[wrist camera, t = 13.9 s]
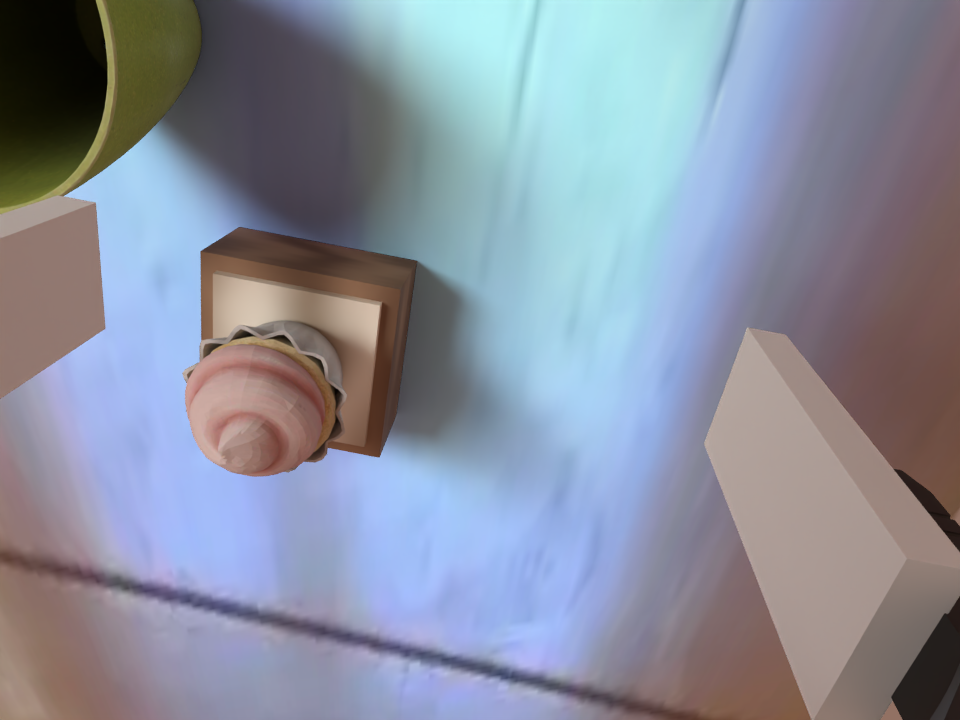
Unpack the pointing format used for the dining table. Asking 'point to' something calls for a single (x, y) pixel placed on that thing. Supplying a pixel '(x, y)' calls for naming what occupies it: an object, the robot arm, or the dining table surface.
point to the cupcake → (265, 398)
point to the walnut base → (320, 314)
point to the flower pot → (85, 86)
